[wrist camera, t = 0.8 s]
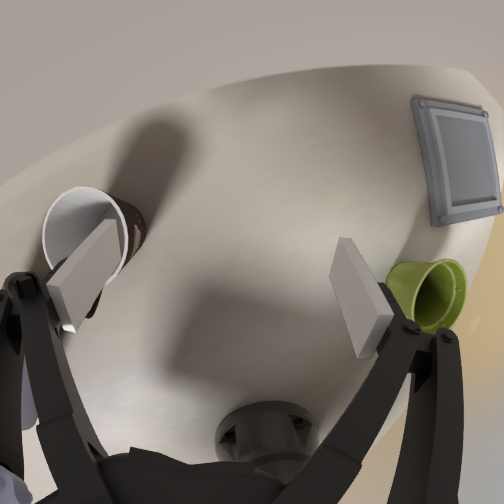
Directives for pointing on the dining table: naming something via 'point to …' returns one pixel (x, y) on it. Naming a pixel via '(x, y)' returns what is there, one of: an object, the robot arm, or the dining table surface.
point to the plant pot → (430, 292)
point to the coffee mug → (90, 226)
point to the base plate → (457, 162)
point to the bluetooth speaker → (24, 368)
